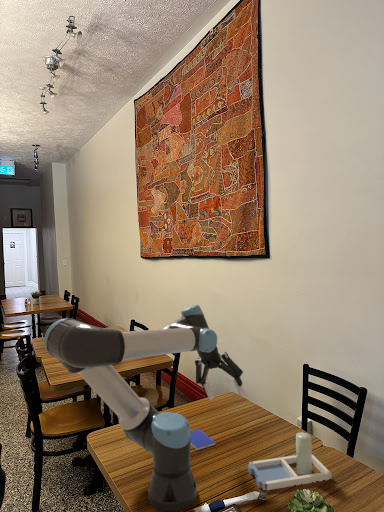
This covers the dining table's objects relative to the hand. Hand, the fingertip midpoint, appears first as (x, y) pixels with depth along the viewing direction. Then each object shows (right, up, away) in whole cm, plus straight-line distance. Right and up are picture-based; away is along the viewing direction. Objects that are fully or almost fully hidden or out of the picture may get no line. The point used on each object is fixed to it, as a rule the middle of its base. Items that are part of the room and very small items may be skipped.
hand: (226, 396), depth 137 cm
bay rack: (+20, -20, -15) cm, 32 cm away
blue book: (-10, -21, +7) cm, 25 cm away
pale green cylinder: (+25, -20, -14) cm, 35 cm away
